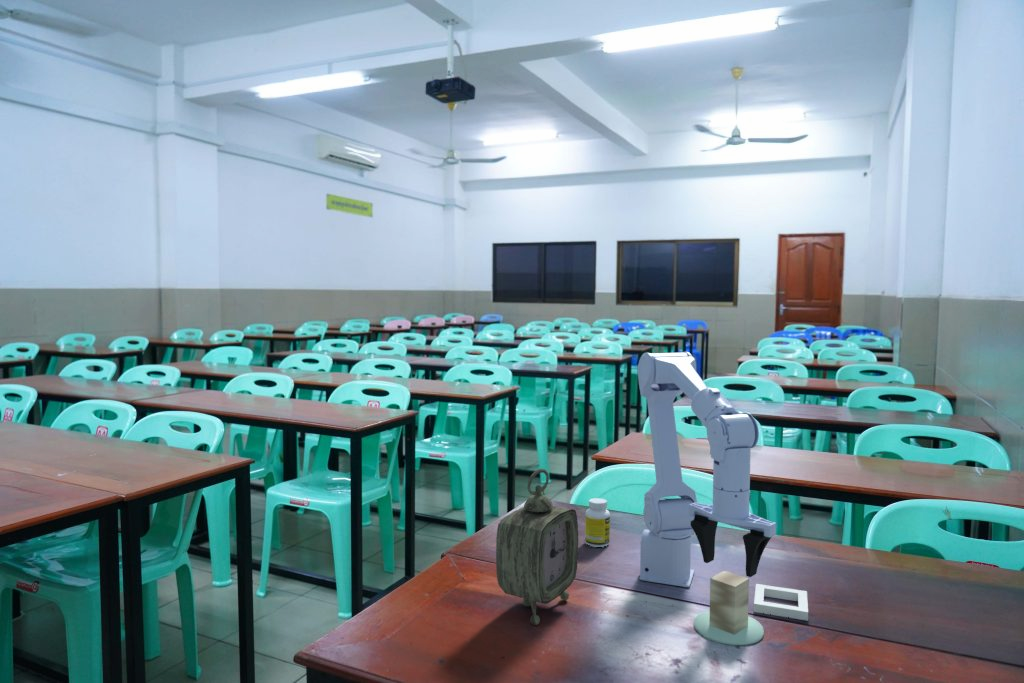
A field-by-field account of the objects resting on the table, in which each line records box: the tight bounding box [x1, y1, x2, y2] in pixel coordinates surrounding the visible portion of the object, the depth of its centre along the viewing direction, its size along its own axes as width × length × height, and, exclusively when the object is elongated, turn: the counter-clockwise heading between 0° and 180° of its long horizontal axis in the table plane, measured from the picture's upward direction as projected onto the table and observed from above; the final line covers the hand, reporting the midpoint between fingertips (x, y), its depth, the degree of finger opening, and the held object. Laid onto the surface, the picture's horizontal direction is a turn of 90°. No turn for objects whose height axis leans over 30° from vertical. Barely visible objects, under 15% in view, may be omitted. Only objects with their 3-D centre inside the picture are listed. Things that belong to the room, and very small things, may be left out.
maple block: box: [709, 570, 750, 635], centre depth 113 cm, size 4×4×8 cm
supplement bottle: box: [584, 497, 611, 548], centre depth 151 cm, size 5×5×10 cm
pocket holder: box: [753, 583, 809, 622], centre depth 121 cm, size 9×9×2 cm
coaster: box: [693, 610, 765, 646], centre depth 113 cm, size 11×11×1 cm
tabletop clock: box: [495, 468, 579, 626], centre depth 119 cm, size 14×9×25 cm, turn 148°
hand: (729, 567), depth 112 cm, fingers open, 7 cm apart
